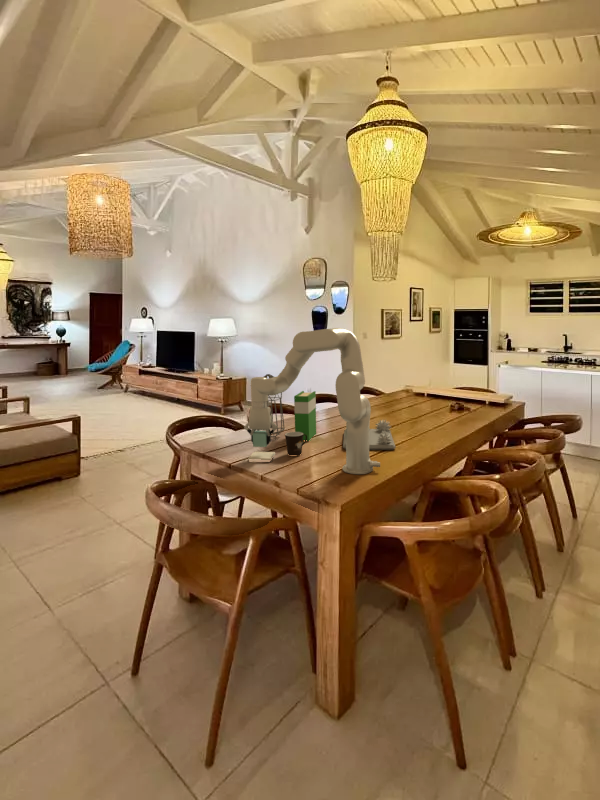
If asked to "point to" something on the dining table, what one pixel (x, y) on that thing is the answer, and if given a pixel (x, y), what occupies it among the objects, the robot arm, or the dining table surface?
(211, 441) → the dining table surface
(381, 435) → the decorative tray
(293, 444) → the coffee mug
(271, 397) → the geometric lantern
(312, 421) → the hardback book
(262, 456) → the coaster
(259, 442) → the block
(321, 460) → the dining table surface
